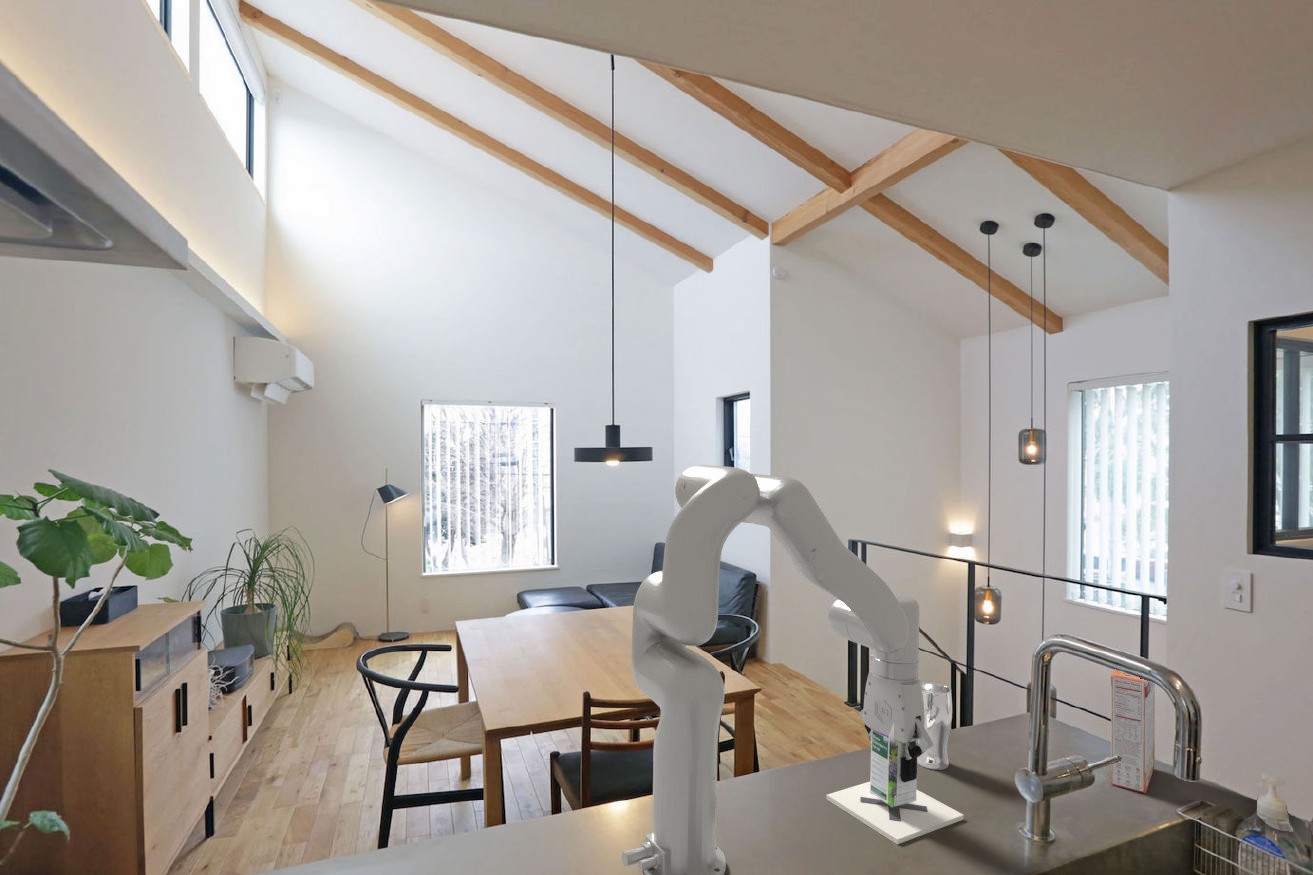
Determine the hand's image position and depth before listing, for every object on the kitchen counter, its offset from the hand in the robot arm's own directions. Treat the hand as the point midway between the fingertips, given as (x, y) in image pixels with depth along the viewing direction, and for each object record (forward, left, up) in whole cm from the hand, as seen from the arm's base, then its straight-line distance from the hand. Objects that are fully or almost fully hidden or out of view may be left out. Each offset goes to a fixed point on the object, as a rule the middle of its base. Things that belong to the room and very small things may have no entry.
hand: (893, 770), depth 124 cm
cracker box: (+51, -13, -7) cm, 53 cm away
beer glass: (+21, +9, -7) cm, 24 cm away
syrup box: (0, 0, -5) cm, 5 cm away
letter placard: (0, 0, -7) cm, 7 cm away
